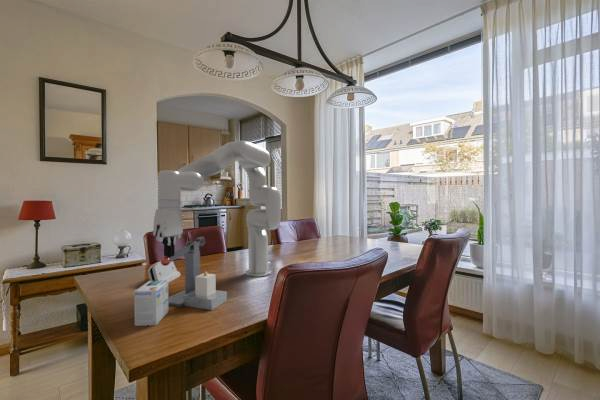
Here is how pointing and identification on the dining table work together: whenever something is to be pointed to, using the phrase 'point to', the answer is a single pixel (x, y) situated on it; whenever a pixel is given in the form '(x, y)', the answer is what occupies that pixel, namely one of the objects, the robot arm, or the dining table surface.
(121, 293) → the dining table surface
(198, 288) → the block
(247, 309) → the dining table surface
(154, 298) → the light bulb box
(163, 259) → the lever
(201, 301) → the frame
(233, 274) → the dining table surface
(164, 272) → the white slotted curved casing
